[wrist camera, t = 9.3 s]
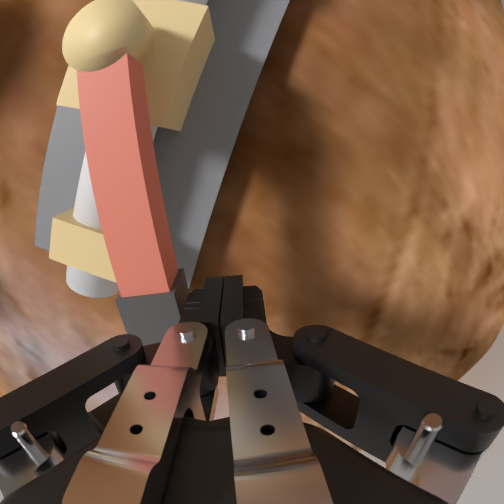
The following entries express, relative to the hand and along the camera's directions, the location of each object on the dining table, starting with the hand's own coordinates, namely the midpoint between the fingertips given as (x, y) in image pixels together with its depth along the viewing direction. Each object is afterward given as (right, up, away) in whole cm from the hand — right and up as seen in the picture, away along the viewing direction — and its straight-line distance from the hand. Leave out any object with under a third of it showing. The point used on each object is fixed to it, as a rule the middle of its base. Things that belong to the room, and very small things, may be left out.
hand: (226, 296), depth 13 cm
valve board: (-5, +13, +4) cm, 14 cm away
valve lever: (-4, +4, -1) cm, 5 cm away
